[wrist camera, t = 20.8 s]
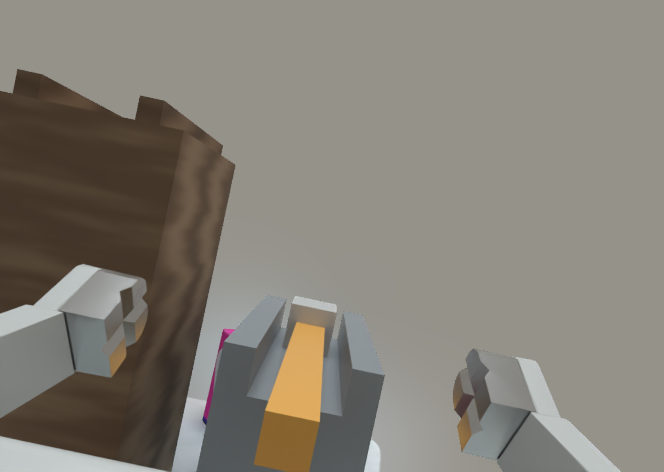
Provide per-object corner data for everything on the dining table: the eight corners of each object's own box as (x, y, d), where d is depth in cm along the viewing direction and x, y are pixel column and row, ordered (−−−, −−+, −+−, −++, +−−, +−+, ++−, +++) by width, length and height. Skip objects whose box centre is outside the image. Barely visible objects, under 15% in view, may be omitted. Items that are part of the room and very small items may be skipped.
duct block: (322, 658, 26) (384, 375, 26) (164, 626, 26) (223, 341, 26) (325, 483, 44) (362, 315, 44) (231, 464, 44) (267, 295, 44)
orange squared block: (324, 479, 19) (343, 392, 19) (237, 461, 19) (255, 374, 19) (327, 344, 41) (336, 304, 41) (287, 336, 41) (295, 296, 41)
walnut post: (84, 608, 26) (188, 106, 26) (-108, 569, 26) (-7, 63, 26) (170, 476, 40) (238, 149, 40) (45, 450, 40) (112, 121, 40)
